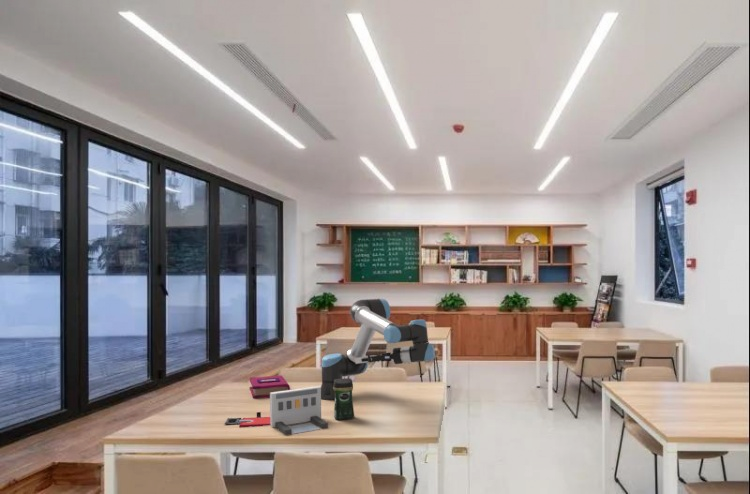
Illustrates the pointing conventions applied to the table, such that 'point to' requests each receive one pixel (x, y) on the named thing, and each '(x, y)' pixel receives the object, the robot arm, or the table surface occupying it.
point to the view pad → (303, 428)
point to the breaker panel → (295, 405)
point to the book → (267, 386)
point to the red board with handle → (250, 421)
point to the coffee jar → (343, 399)
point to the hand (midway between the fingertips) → (359, 360)
